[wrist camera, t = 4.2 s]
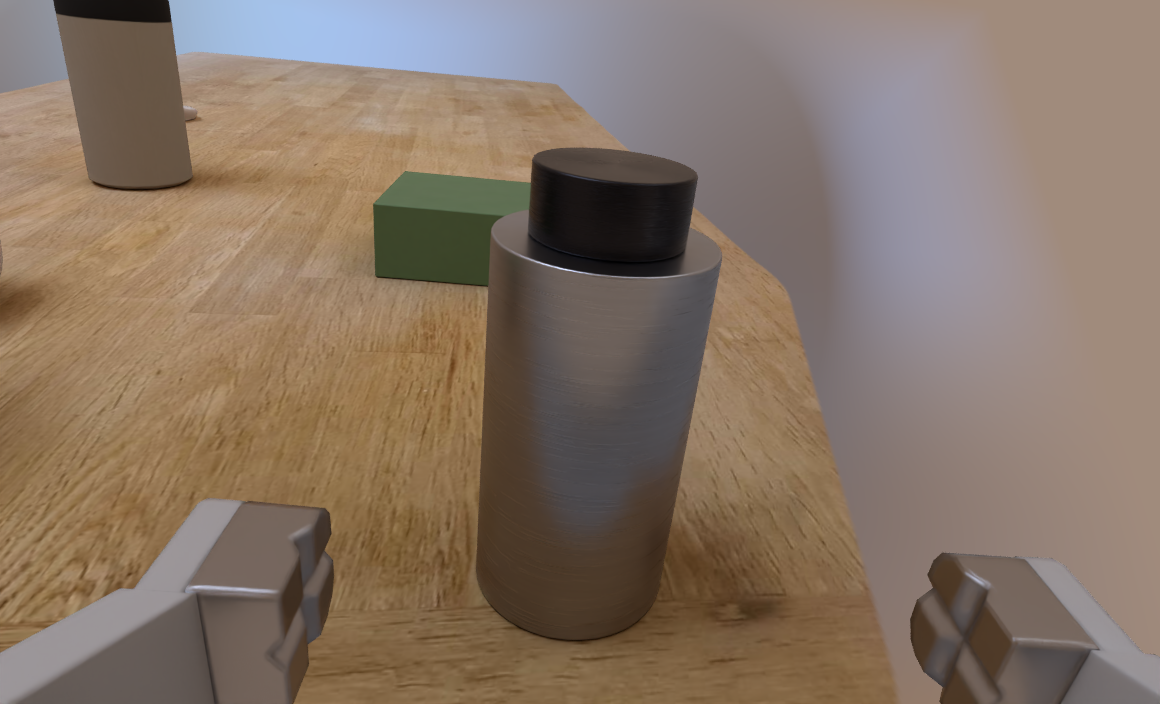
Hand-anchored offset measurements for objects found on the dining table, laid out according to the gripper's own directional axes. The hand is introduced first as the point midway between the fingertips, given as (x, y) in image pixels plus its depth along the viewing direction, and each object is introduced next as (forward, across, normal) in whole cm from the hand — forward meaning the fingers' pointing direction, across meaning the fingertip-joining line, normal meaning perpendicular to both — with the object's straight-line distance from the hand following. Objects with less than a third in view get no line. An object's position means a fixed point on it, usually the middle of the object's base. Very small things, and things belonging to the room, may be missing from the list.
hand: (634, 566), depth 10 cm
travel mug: (+57, +38, +11) cm, 70 cm away
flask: (+12, 0, +11) cm, 16 cm away
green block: (+43, +8, +11) cm, 45 cm away
